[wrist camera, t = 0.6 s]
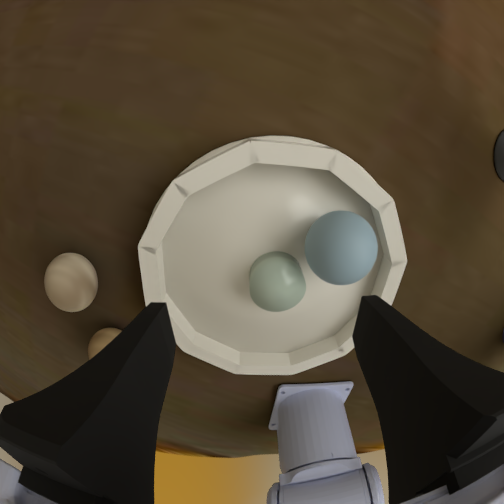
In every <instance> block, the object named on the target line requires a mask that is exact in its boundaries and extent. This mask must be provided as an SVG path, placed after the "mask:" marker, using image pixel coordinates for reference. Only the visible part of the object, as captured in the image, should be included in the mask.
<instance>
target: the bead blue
mask: <svg viewBox="0 0 504 504" xmlns="http://www.w3.org/2000/svg"><path fill="white" fill-rule="evenodd" d="M377 252H378V244H377V238H376V235H375V233H374V230H373V229H372V227H371V226H370V224H369V223H368V222H367V221H366V220H365V219H364V218H362V217H361V216H360V215H358V214H356V213H353V212H350V211H343V210H338V211H332V212H329V213H326V214H324V215H323V216H321V217H320V218H318V219H317V220H316V221H315V222H314V223H313V224H312V226H311V227H310V229H309V231H308V233H307V236H306V239H305V256H306V260H307V263H308V264H309V266H310V268H311V270H312V271H313V272H314V273H315V274H316V275H317V276H318V277H319V278H320V279H322V280H323V281H325V282H327V283H330V284H334V285H349V284H353V283H355V282H357V281H359V280H361V279H362V278H364V277H365V276H366V275H367V274H368V273H369V272H370V270H371V269H372V267H373V265H374V263H375V261H376V258H377Z"/></svg>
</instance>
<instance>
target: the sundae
mask: <svg viewBox="0 0 504 504" xmlns="http://www.w3.org/2000/svg"><path fill="white" fill-rule="evenodd" d="M494 161H495V167H496V171H497V173H498V175H499V177H500V178H501V179H502V180H503V181H504V131H502V132H501V134H500V135H499V137H498V139H497V142H496V145H495V151H494Z"/></svg>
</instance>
